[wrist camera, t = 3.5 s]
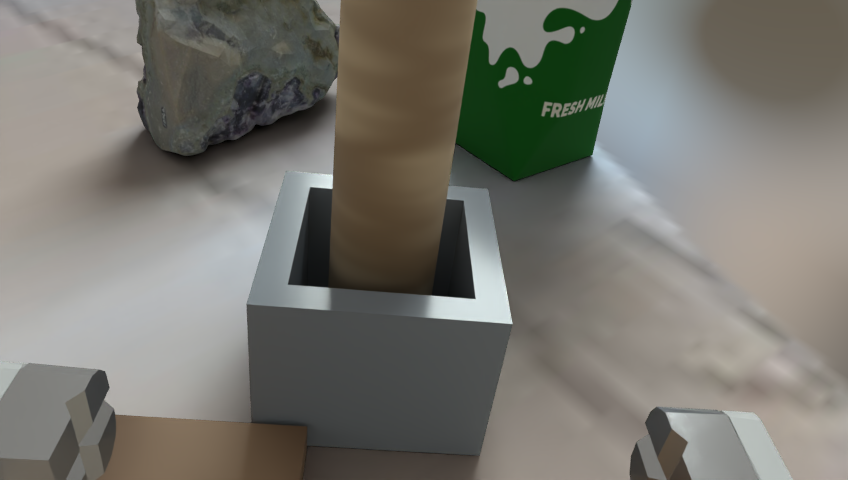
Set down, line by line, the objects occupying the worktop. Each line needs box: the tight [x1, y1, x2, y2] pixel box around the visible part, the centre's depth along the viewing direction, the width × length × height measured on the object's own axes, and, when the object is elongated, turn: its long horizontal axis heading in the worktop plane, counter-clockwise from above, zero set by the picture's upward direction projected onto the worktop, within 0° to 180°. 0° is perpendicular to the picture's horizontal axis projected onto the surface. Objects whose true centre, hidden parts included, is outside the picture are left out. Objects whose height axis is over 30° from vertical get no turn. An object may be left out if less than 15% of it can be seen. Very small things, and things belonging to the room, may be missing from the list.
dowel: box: [328, 0, 477, 296], centre depth 21 cm, size 4×4×20 cm
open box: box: [247, 171, 512, 456], centre depth 25 cm, size 8×8×6 cm
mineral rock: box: [136, 0, 340, 156], centre depth 39 cm, size 13×11×10 cm
